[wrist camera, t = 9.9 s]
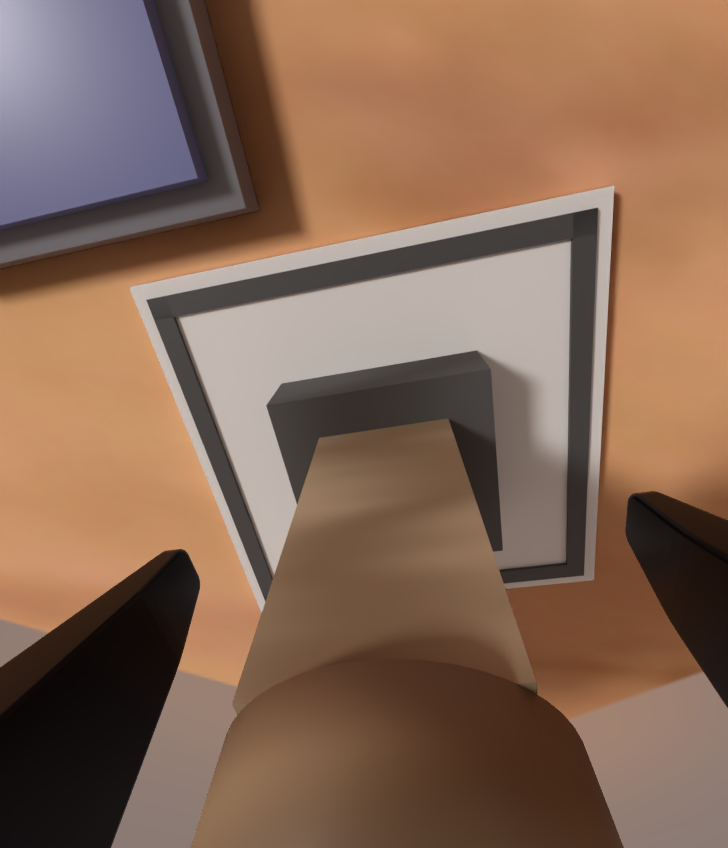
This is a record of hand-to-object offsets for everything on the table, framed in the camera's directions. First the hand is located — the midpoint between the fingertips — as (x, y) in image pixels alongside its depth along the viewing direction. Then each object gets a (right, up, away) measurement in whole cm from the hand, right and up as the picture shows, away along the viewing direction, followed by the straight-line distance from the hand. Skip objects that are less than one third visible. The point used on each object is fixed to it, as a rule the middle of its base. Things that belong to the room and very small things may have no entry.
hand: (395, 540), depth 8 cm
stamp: (0, +1, +3) cm, 4 cm away
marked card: (0, +2, +4) cm, 4 cm away
